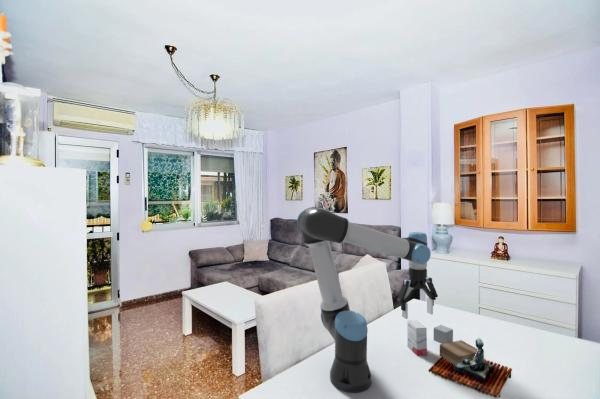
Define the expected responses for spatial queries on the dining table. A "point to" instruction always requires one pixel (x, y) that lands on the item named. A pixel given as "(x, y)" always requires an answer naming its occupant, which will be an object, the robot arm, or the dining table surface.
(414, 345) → the ink box
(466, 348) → the walnut block
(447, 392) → the dining table surface
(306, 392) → the dining table surface
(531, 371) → the dining table surface
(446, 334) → the slate block
